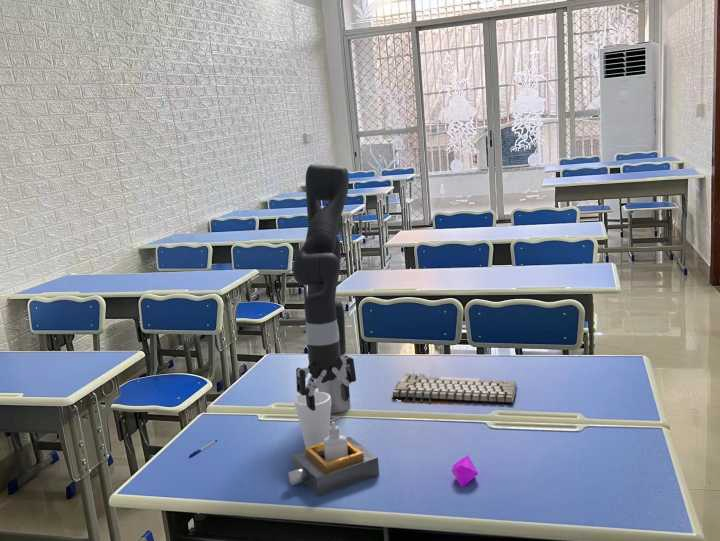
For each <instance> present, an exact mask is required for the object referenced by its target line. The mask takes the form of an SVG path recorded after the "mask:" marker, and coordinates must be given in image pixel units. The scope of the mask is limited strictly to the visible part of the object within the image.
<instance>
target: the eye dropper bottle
mask: <svg viewBox="0 0 720 541" xmlns="http://www.w3.org/2000/svg"><path fill="white" fill-rule="evenodd" d="M346 438H347V437H346V436H345V435H343V434H342V435H341V434H340V426H338V425H336V422H335V421H331V425H330V427H329V437H327V438H325V439H324V442H323V443H324V455H325V461H326V462H330V461H333V460H336V459H339V458H343V457H346V456H348V448H347V439H346Z"/></svg>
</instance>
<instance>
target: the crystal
mask: <svg viewBox="0 0 720 541" xmlns="http://www.w3.org/2000/svg"><path fill="white" fill-rule="evenodd" d="M451 473H452V474H453V476H454V478H455V479H456V480H457V483H458V484H459V485H460V487H461V488H463V487H464V486H465V485H467V484H468V483H469V482H471V481H472V480H473V479H474V478H475V477H477V476H478V475H479V471H478V470H477V468H476V467H475V465H474V463H473V461H472V460H471V458H470V456H469V455H466V456H465V457H463V458H461V459H460V460H458V461H456V462H455V463H454V464H453V466H452V468H451Z"/></svg>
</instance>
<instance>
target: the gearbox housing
mask: <svg viewBox="0 0 720 541" xmlns="http://www.w3.org/2000/svg"><path fill="white" fill-rule="evenodd" d="M346 439H347V448H348V456H346V457H343V458H339V459H336V460H333V461H330V462H326V461H325V455H324V443H320V444H316V445H313V446H310V447H307V448H306V447H305V449H304V450H302V451H300V452H297V453H294V454H292V455H291V457H292V466H293V467H292V469H293V470H292V471H289V472H288V473H287V474H288V475H287V477H288V481H289V483H290V485H291V486H295V485H297V484H301V483H304V484H305V485H306V486H307V487H308V488H309V489H310V490H311V491H312V493H314V495H316V496H317V497H318V498H319V497H322V496H324V495H327V494H330V493H332V492H336V491H339V490H341V489H345V488H347V487H350V486H352V485H355V484H358V483H361V482H365V481H367V480H370V479H372V478H375V477H379V476H380V469H379V468H380V467H379V457H378V456H376V455H375V454H374V453H373V452H371V451H370V450H369V449H368V448H365V446H363V445H362V444H360V443H359V442H358V441H357V440H355V439H354V438H352V437H351V436H348V437H346Z"/></svg>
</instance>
